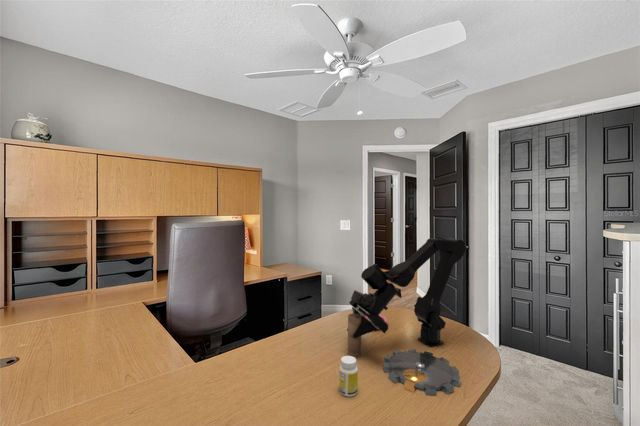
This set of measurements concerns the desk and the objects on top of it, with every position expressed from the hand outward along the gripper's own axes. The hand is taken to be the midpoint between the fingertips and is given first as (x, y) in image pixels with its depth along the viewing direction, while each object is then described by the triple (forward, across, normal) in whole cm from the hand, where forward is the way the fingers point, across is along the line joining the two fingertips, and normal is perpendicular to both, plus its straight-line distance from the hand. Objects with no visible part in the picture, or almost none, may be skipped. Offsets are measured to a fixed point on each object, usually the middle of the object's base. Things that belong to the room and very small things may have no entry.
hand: (350, 334), depth 94 cm
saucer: (-8, -20, +18) cm, 27 cm away
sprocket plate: (-6, +15, +16) cm, 23 cm away
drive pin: (+4, 0, +6) cm, 7 cm away
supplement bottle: (+11, +18, -1) cm, 21 cm away
